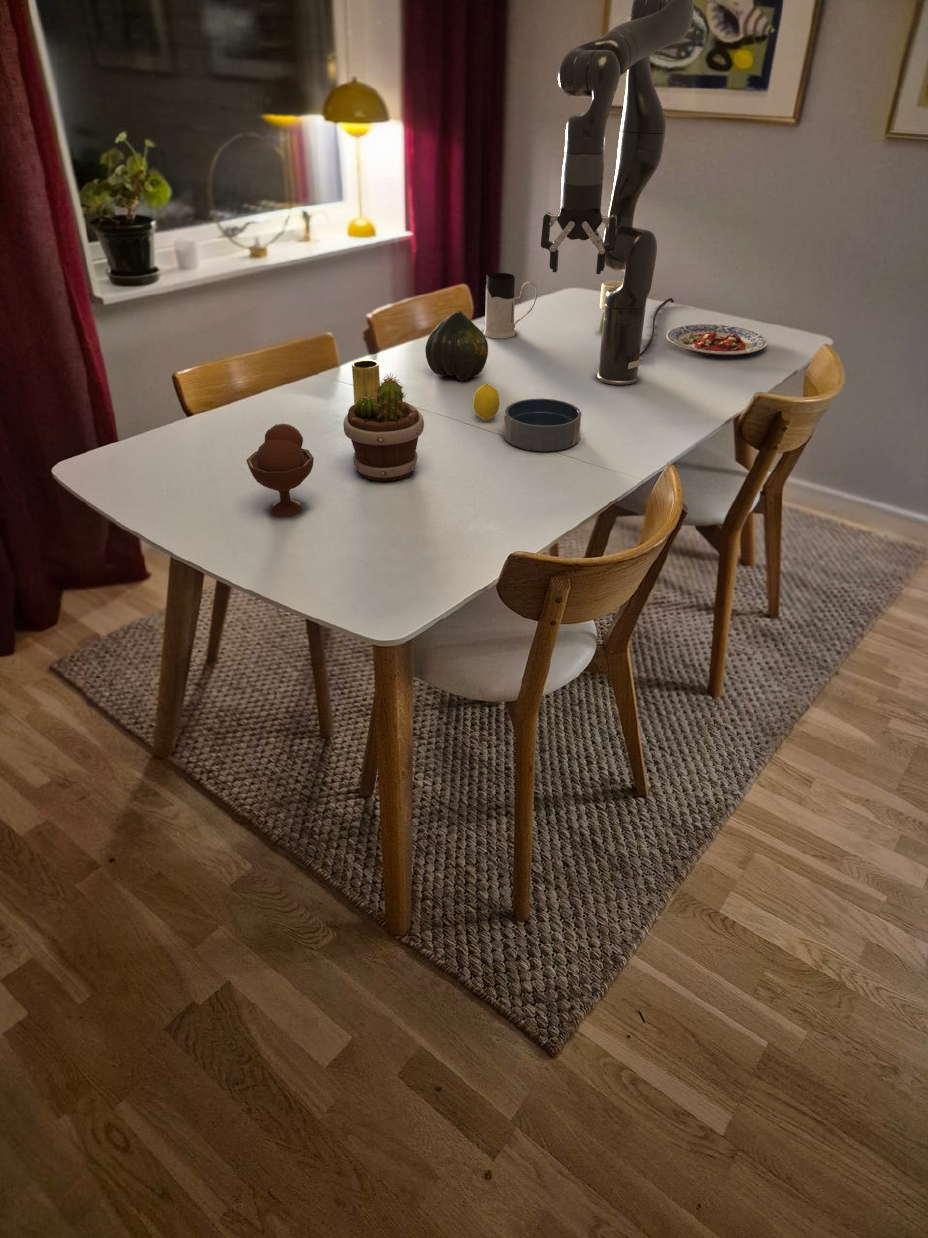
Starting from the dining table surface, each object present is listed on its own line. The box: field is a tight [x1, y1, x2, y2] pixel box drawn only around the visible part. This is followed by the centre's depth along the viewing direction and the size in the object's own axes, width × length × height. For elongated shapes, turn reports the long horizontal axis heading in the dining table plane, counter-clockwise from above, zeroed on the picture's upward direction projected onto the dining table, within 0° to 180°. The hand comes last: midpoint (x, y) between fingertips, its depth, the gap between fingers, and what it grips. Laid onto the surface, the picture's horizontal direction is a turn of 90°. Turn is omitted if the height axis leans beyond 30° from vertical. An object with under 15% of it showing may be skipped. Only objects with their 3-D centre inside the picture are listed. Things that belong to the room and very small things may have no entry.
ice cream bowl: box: [245, 423, 315, 518], centre depth 141 cm, size 11×11×15 cm
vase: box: [351, 359, 381, 405], centre depth 169 cm, size 6×6×14 cm
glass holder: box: [482, 272, 538, 339], centre depth 226 cm, size 9×14×15 cm, turn 82°
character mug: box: [598, 280, 623, 333], centre depth 227 cm, size 11×7×13 cm, turn 146°
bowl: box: [503, 398, 582, 453], centre depth 170 cm, size 15×15×6 cm
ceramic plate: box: [666, 323, 769, 357], centre depth 221 cm, size 26×26×3 cm
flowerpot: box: [342, 372, 425, 482], centre depth 153 cm, size 14×15×20 cm
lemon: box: [472, 383, 500, 422], centre depth 177 cm, size 6×6×8 cm
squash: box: [424, 310, 489, 381], centre depth 200 cm, size 14×15×15 cm
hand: (576, 272), depth 165 cm, fingers open, 8 cm apart
